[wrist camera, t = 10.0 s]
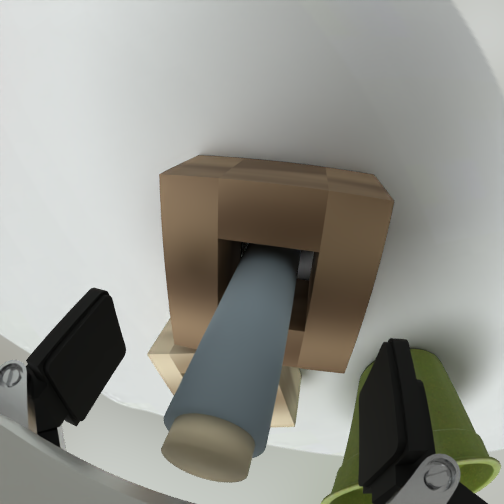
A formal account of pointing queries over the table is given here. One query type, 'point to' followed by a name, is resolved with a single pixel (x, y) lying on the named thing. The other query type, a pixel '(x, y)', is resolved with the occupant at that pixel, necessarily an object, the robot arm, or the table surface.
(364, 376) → the plant pot
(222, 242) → the wooden square frame
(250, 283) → the blue capped cylinder
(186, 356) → the pale wooden square holder
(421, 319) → the table surface
